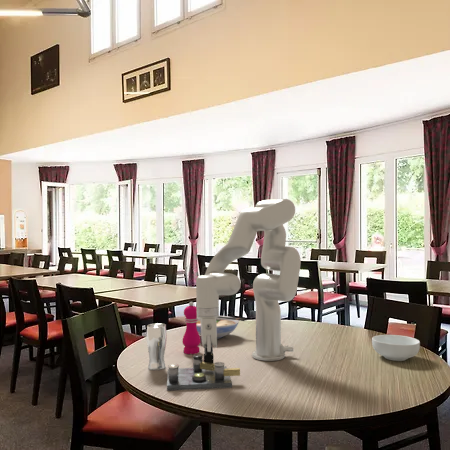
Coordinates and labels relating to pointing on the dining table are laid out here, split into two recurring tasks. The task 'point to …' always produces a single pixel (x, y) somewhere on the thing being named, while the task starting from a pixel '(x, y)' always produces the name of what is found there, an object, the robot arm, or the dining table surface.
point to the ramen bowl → (223, 325)
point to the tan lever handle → (201, 364)
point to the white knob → (173, 372)
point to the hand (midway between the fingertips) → (208, 365)
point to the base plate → (197, 380)
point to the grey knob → (225, 371)
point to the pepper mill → (191, 330)
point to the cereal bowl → (396, 346)
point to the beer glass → (156, 345)
